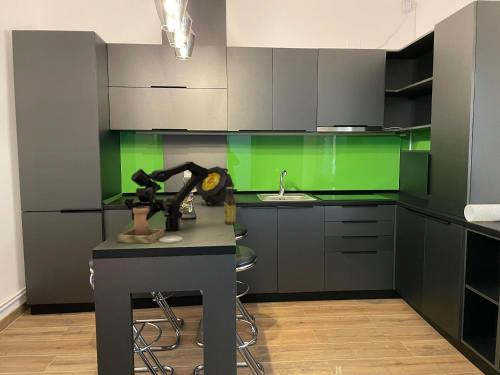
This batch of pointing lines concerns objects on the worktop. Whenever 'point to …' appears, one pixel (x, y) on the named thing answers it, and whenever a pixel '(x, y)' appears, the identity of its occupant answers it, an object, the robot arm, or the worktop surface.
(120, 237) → the pine frame
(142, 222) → the terracotta pot
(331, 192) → the worktop surface
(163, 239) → the ceramic saucer
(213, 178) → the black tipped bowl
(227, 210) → the sauce bottle
